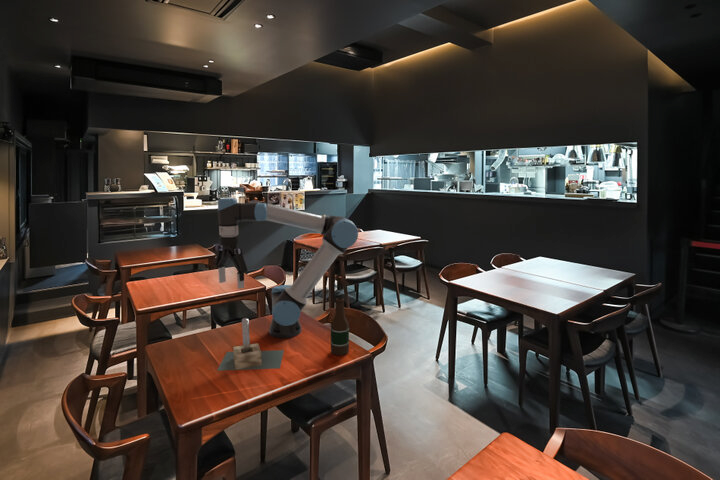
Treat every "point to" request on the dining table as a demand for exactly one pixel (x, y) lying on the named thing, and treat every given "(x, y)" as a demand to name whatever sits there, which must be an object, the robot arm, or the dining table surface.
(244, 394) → the dining table surface
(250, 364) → the wooden square socket block
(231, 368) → the felt mat
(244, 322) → the metal peg
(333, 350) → the beer bottle
